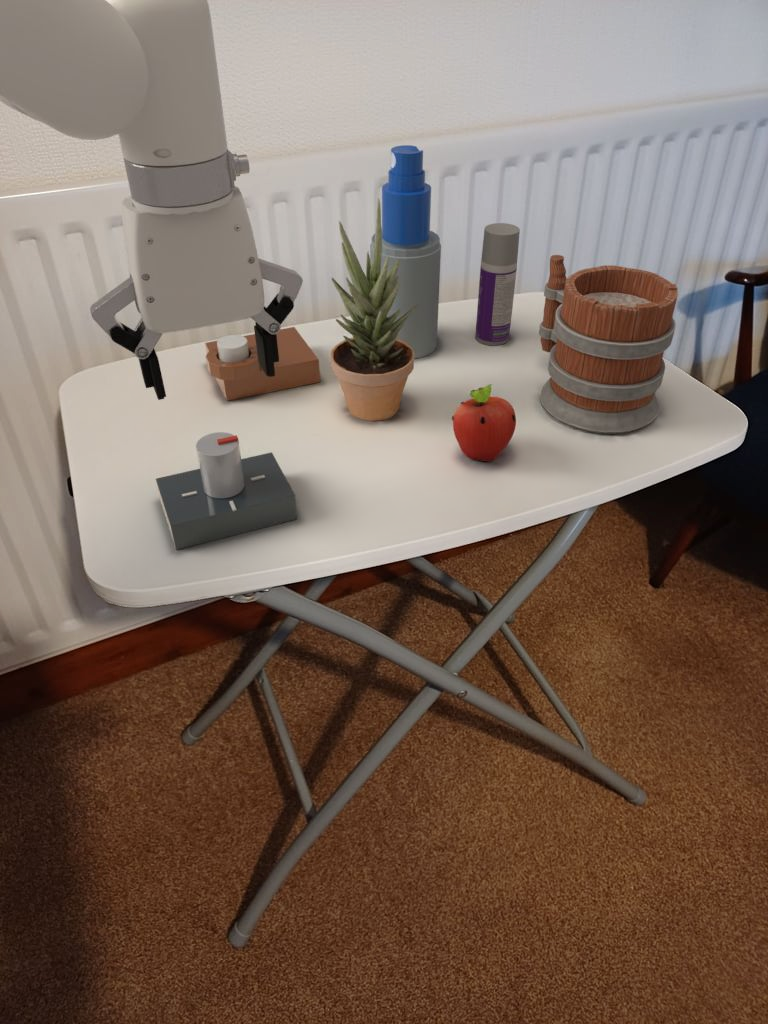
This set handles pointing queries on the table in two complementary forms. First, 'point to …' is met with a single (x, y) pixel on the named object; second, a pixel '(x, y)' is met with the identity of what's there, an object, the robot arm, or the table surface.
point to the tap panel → (226, 503)
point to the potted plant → (371, 336)
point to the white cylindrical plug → (233, 348)
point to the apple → (484, 425)
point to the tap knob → (220, 465)
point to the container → (497, 283)
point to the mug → (605, 345)
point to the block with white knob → (249, 376)
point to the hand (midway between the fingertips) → (214, 380)
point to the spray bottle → (411, 248)
